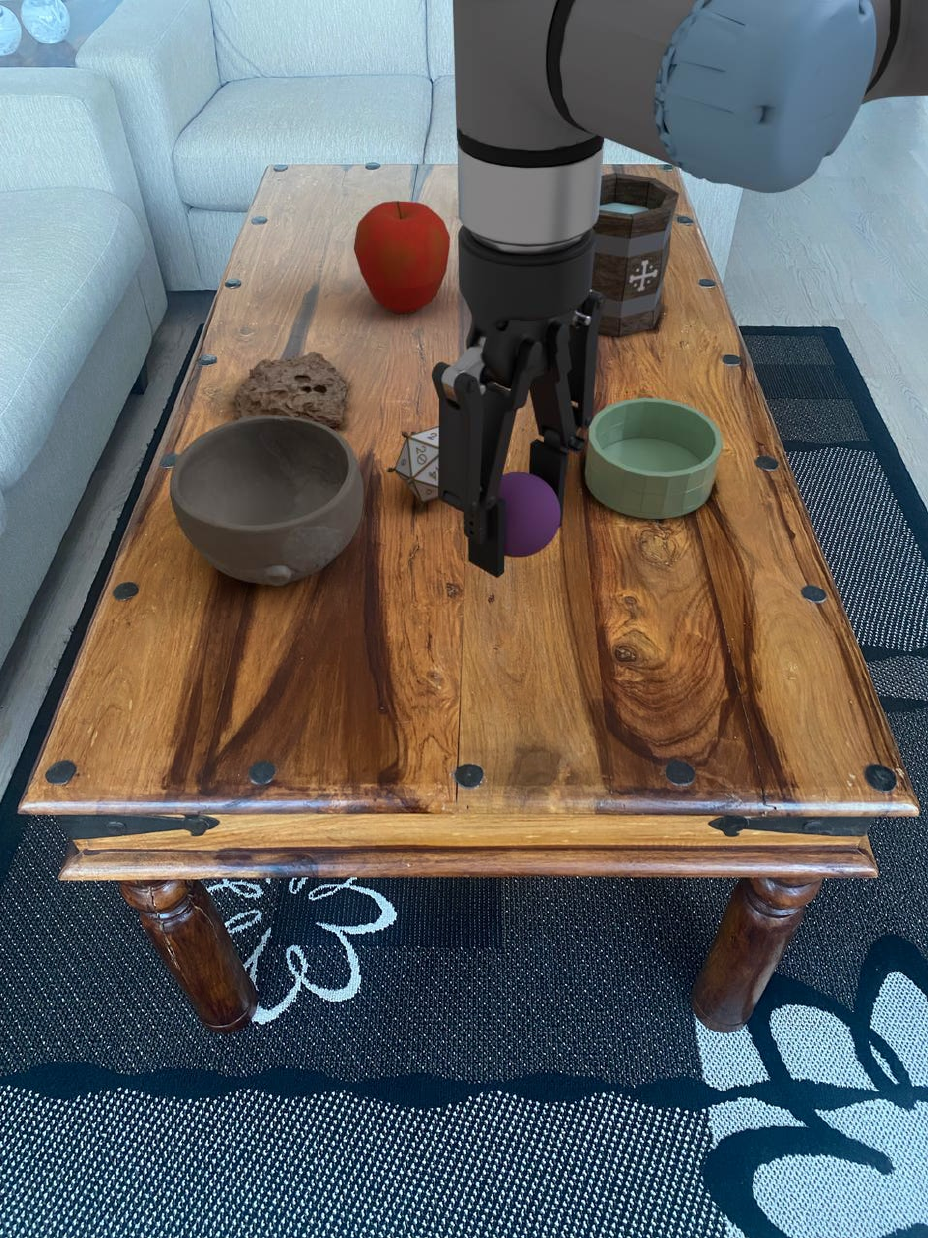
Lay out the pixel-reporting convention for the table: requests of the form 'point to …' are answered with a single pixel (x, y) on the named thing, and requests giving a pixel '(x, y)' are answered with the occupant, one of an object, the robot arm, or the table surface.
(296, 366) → the rock
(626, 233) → the mug
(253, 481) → the bowl
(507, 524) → the plum ball
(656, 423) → the green bowl
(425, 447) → the game die
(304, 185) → the table surface
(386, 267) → the apple
